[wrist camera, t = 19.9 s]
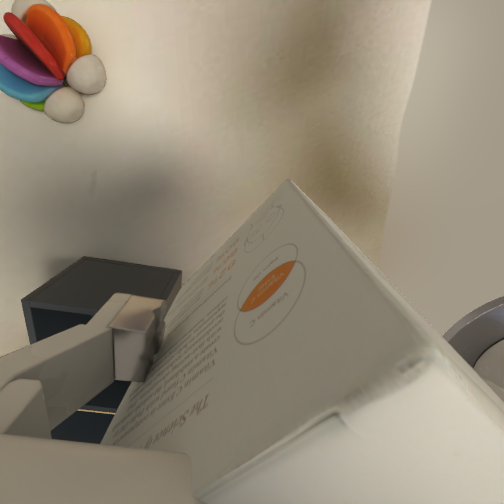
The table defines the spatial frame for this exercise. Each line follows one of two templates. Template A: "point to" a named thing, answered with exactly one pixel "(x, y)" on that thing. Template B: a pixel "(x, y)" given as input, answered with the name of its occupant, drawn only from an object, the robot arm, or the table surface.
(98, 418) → the box lid
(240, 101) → the table surface
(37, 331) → the open box
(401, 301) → the small box
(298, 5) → the table surface
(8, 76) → the rainbow fanned disc toy
